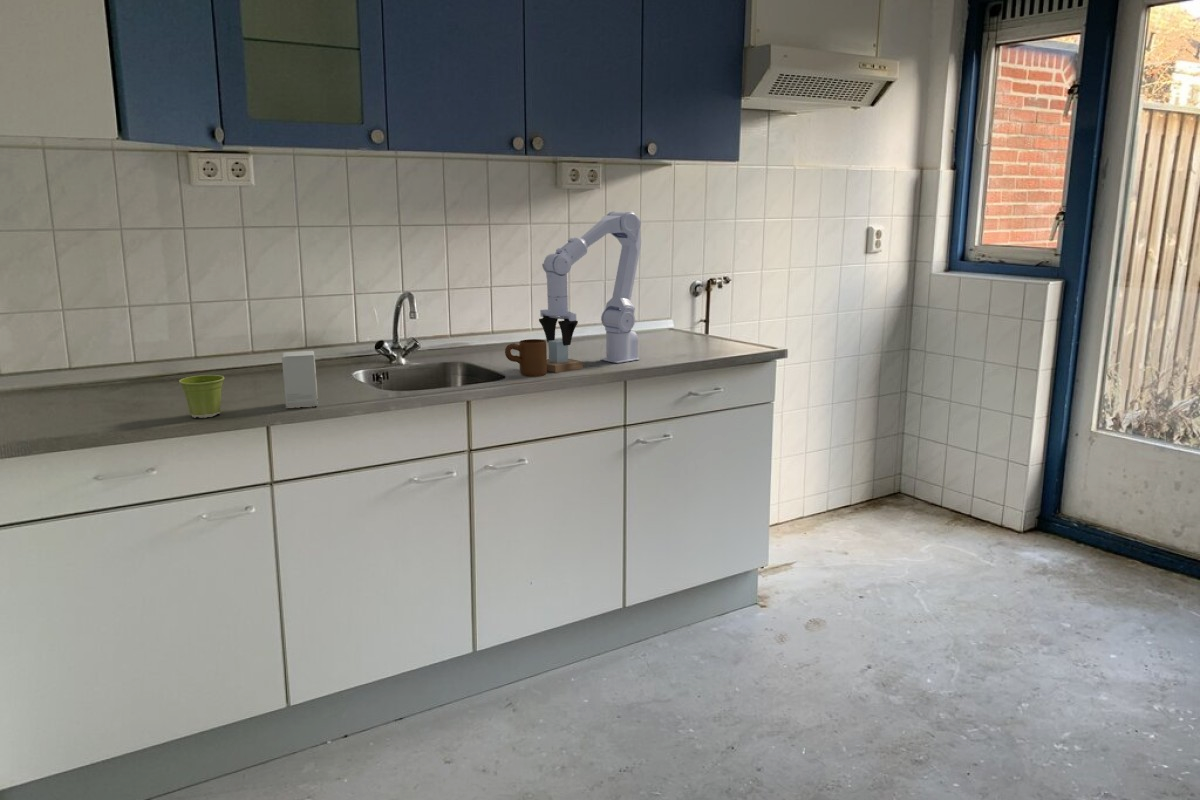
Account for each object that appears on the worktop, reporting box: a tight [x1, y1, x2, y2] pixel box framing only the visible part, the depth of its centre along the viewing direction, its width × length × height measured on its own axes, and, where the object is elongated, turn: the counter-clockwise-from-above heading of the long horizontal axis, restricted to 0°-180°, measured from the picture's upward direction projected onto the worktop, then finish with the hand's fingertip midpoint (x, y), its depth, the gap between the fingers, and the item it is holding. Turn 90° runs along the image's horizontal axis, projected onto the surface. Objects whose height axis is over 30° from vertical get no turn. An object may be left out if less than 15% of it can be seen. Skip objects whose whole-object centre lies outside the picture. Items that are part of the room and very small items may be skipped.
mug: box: [504, 338, 548, 377], centre depth 248 cm, size 12×8×9 cm, turn 116°
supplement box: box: [281, 350, 318, 407], centre depth 213 cm, size 7×7×13 cm
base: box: [547, 358, 584, 374], centre depth 259 cm, size 10×10×2 cm
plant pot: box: [178, 374, 225, 415], centre depth 204 cm, size 9×9×9 cm
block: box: [547, 339, 569, 363], centre depth 258 cm, size 4×4×6 cm
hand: (558, 343), depth 258 cm, fingers open, 7 cm apart
